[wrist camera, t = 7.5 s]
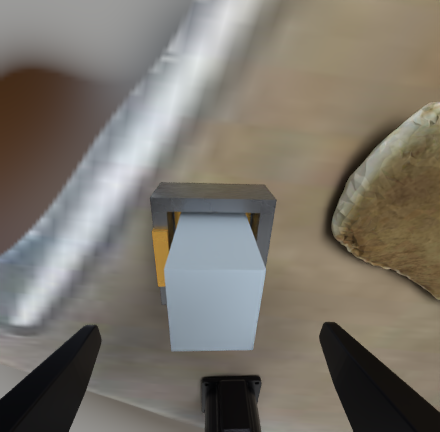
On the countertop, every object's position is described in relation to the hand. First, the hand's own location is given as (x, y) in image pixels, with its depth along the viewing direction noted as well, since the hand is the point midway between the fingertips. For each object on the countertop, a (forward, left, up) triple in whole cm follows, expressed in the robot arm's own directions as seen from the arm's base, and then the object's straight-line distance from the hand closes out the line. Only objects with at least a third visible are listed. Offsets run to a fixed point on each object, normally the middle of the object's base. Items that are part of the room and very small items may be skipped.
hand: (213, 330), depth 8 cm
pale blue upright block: (0, 0, -7) cm, 7 cm away
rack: (0, 0, -8) cm, 8 cm away
